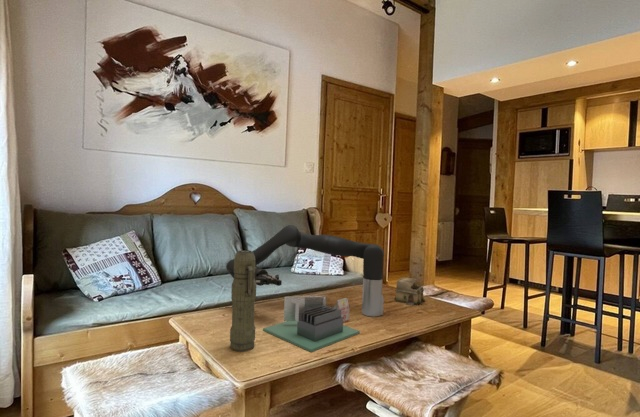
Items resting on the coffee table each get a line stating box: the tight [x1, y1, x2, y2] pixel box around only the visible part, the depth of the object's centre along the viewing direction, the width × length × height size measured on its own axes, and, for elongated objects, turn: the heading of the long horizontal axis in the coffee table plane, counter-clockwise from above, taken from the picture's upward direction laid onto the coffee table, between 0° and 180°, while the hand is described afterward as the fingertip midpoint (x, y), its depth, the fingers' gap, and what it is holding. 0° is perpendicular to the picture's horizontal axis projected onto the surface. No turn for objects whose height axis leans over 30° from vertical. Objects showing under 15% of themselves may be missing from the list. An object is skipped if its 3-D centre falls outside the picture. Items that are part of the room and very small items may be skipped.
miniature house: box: [393, 276, 426, 307], centre depth 204 cm, size 15×14×11 cm
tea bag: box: [333, 297, 350, 323], centre depth 168 cm, size 4×7×10 cm, turn 135°
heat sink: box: [262, 295, 361, 353], centre depth 153 cm, size 28×28×16 cm
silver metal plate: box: [283, 295, 327, 322], centre depth 158 cm, size 18×2×10 cm, turn 101°
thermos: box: [229, 249, 257, 353], centre depth 136 cm, size 9×12×35 cm
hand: (280, 283), depth 160 cm, fingers closed
